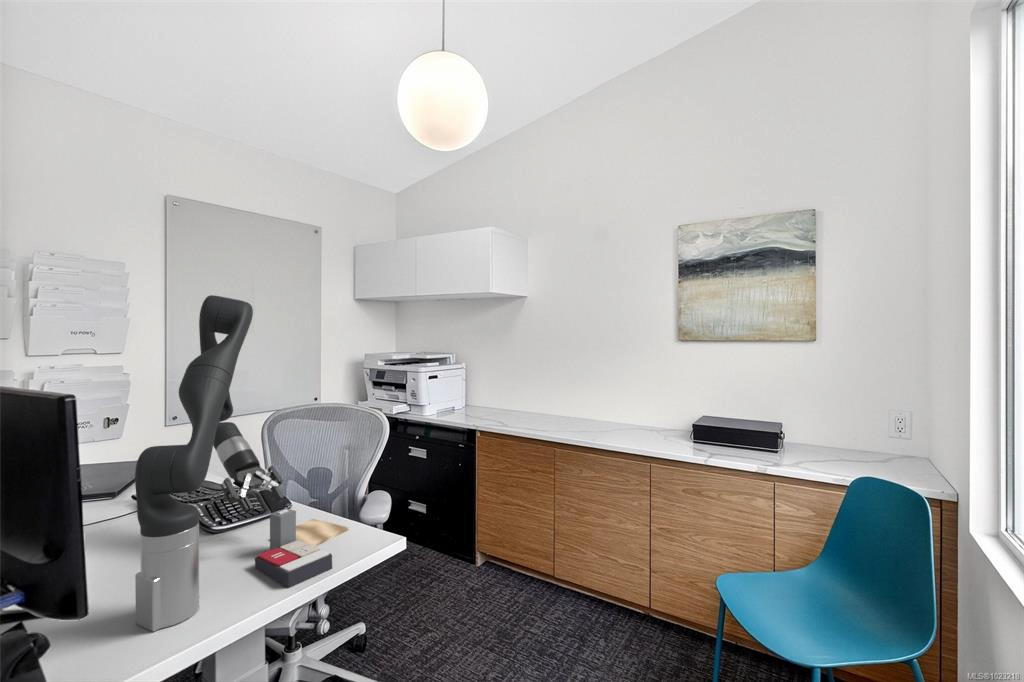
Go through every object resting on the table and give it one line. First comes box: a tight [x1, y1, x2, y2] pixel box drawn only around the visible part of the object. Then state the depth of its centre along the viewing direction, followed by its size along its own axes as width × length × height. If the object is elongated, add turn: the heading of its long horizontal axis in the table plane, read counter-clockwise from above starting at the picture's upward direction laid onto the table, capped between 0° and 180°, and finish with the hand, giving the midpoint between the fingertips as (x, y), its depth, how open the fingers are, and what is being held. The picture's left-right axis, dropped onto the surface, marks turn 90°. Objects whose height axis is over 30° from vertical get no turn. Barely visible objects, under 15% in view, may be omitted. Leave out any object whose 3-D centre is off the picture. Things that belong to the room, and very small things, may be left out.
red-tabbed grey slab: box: [254, 540, 333, 589], centre depth 109 cm, size 11×4×15 cm
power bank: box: [269, 508, 297, 551], centre depth 117 cm, size 4×4×10 cm
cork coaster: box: [296, 518, 349, 547], centre depth 127 cm, size 14×14×1 cm
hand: (266, 506), depth 120 cm, fingers open, 8 cm apart
